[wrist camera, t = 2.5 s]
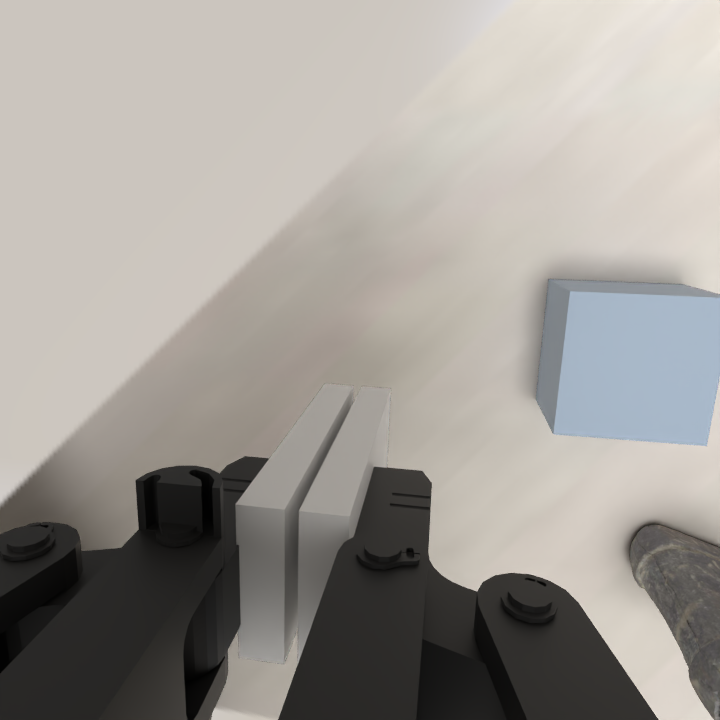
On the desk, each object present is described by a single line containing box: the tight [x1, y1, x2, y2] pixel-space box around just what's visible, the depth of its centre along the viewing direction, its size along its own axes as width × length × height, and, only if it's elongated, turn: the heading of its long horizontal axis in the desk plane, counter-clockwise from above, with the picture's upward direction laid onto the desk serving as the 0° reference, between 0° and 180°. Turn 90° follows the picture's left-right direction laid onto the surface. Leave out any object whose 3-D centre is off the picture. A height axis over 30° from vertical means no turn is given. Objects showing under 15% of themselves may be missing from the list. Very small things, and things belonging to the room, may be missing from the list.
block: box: [536, 279, 720, 446], centre depth 25 cm, size 6×6×5 cm
